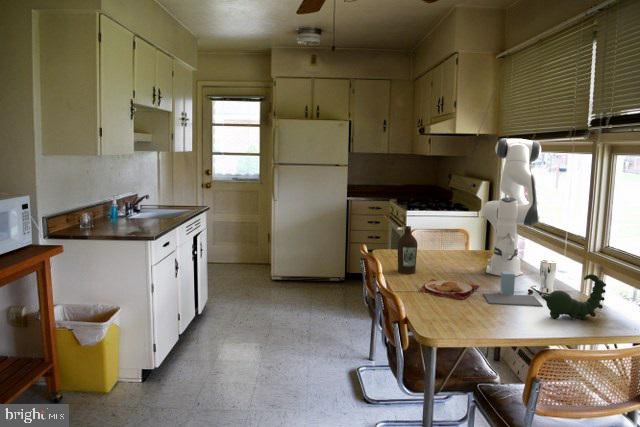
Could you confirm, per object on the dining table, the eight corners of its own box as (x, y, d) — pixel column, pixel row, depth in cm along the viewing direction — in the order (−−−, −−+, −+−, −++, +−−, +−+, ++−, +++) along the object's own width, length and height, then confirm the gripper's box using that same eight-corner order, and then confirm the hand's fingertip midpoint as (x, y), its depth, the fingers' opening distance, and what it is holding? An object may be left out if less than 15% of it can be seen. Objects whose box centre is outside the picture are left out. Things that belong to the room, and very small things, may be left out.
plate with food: (479, 289, 241) (479, 282, 241) (463, 301, 219) (464, 293, 219) (431, 282, 254) (431, 275, 253) (412, 293, 232) (413, 286, 232)
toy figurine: (590, 317, 204) (532, 313, 202) (597, 272, 202) (539, 267, 199) (605, 325, 195) (544, 321, 192) (613, 278, 192) (551, 273, 190)
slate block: (500, 292, 233) (501, 271, 232) (511, 292, 232) (512, 271, 231) (502, 295, 228) (503, 273, 227) (513, 295, 228) (515, 274, 226)
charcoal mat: (483, 294, 229) (483, 293, 229) (533, 296, 226) (533, 295, 226) (488, 303, 215) (489, 302, 215) (542, 306, 212) (542, 305, 212)
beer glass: (545, 294, 229) (547, 262, 227) (535, 290, 236) (537, 259, 234) (557, 293, 231) (560, 262, 229) (547, 289, 238) (549, 258, 236)
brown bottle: (394, 269, 274) (395, 225, 271) (412, 269, 275) (414, 224, 272) (399, 274, 263) (401, 228, 260) (419, 274, 265) (420, 227, 262)
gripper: (519, 235, 224) (516, 266, 225) (508, 229, 244) (506, 257, 245) (504, 235, 225) (502, 265, 226) (495, 229, 245) (493, 256, 246)
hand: (504, 261), depth 236 cm, fingers closed
